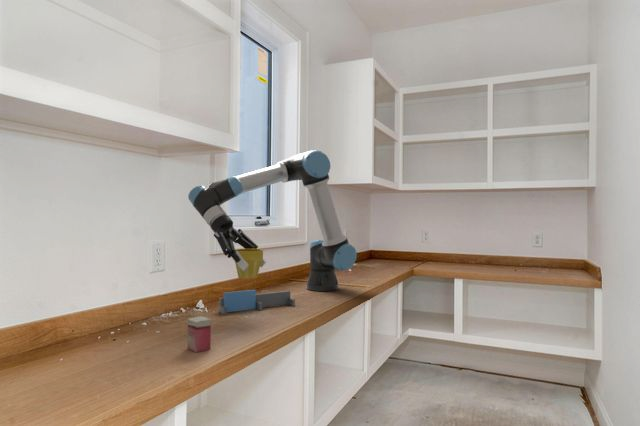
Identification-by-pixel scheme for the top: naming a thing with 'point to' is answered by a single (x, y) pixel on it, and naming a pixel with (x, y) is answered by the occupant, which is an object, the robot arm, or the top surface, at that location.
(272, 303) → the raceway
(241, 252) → the plant pot
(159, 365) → the top surface
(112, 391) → the top surface
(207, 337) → the small box
